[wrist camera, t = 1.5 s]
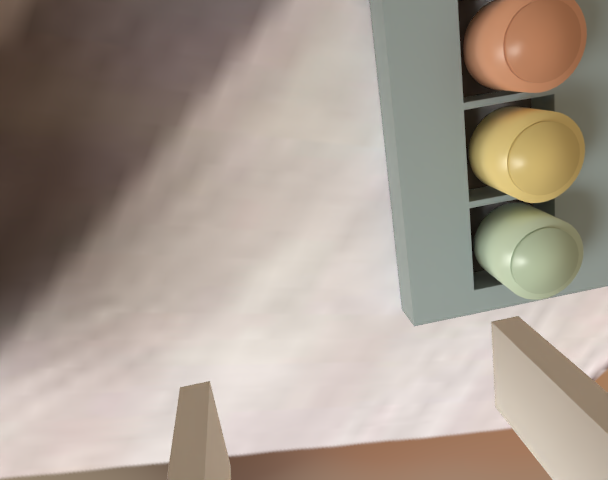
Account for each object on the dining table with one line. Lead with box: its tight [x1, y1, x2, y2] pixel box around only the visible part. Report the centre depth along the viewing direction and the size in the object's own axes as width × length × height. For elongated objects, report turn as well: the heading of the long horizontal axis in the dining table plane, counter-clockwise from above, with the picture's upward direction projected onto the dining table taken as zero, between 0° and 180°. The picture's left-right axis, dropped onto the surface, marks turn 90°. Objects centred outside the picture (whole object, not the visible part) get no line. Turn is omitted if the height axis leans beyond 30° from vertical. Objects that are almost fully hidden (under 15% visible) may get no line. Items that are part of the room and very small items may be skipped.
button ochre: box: [468, 106, 585, 203], centre depth 31 cm, size 5×5×4 cm
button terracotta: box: [463, 0, 587, 93], centre depth 29 cm, size 5×5×4 cm
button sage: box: [474, 203, 584, 300], centre depth 33 cm, size 5×5×4 cm
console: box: [369, 0, 608, 326], centre depth 34 cm, size 14×21×3 cm, turn 9°
